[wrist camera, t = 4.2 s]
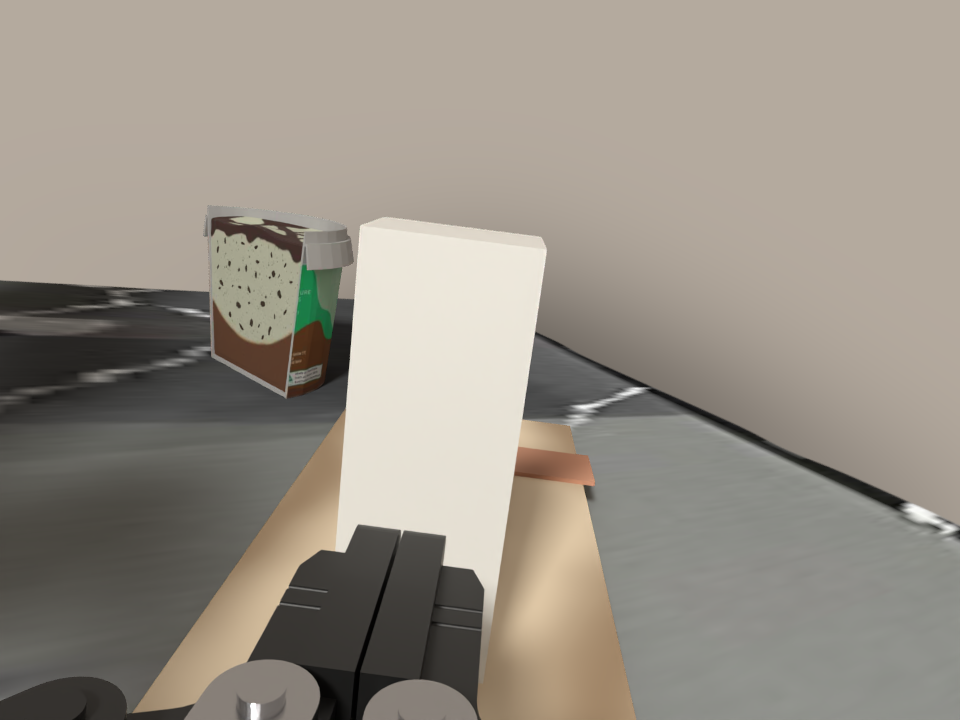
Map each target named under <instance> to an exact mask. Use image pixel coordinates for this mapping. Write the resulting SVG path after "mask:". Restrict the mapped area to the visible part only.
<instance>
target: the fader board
mask: <svg viewBox="0 0 960 720" xmlns="http://www.w3.org/2000/svg"><path fill="white" fill-rule="evenodd" d="M345 417H346V409H345V410H344V412H343V413H342V415H341V416H340V418H339V419H338V420H337V422H336V423H335V425H334V426H333V428H332V429H331V430H330V432H329V433H328V435H327V436H326V437H325V439H324V440H323V442H322V443H321V445H320V446H319V447H318V449H317V450H316V452H315V453H314V455H313V456H312V457H311V459H310V460H309V462H308V463H307V465H306V466H305V467H304V469H303V470H302V472H301V473H300V475H299V476H298V477H297V479H296V480H295V482H294V483H293V485H292V486H291V487H290V489H289V490H288V492H287V493H286V495H285V496H284V497H283V499H282V500H281V502H280V503H279V504H278V506H277V507H276V509H275V510H274V512H273V513H272V514H271V516H270V517H269V519H268V520H267V522H266V523H265V524H264V526H263V527H262V529H261V530H260V532H259V533H258V534H257V536H256V537H255V539H254V540H253V542H252V543H251V544H250V546H249V547H248V549H247V550H246V552H245V553H244V554H243V556H242V557H241V559H240V560H239V562H238V563H237V564H236V566H235V567H234V569H233V570H232V571H231V573H230V574H229V576H228V577H227V579H226V580H225V581H224V583H223V584H222V586H221V587H220V589H219V590H218V591H217V593H216V594H215V596H214V597H213V599H212V600H211V601H210V603H209V604H208V606H207V607H206V609H205V610H204V611H203V613H202V614H201V616H200V617H199V619H198V620H197V621H196V623H195V624H194V626H193V627H192V628H191V630H190V631H189V633H188V634H187V636H186V637H185V638H184V640H183V641H182V643H181V644H180V646H179V647H178V648H177V650H176V651H175V653H174V654H173V656H172V657H171V658H170V660H169V661H168V663H167V664H166V666H165V667H164V668H163V670H162V671H161V673H160V674H159V676H158V677H157V678H156V680H155V681H154V683H153V684H152V686H151V687H150V688H149V690H148V691H147V693H146V694H145V695H144V697H143V698H142V700H141V701H140V703H139V704H138V705H137V707H136V708H135V710H134V711H133V713H138V712H147V711H155V710H164V709H172V708H178V707H183V706H187V705H191V704H195V703H196V702H197V700H198V699H199V698H200V696H201V695H202V693H203V692H204V691H205V689H206V688H207V687H208V685H209V684H210V683H211V682H212V681H213V680H214V679H215V678H216V677H218V676H219V675H220V674H222V673H223V672H225V671H226V670H228V669H230V668H233V667H235V666H237V665H240V664H243V663H246V662H247V661H248V659H249V657H250V655H251V653H252V651H253V650H254V648H255V646H256V644H257V642H258V640H259V639H260V637H261V635H262V633H263V631H264V629H265V628H266V626H267V624H268V622H269V620H270V618H271V617H272V615H273V613H274V611H275V609H276V607H277V606H278V605H279V604H280V600H281V598H282V596H283V595H284V593H285V591H286V589H288V587H289V584H290V582H291V580H292V578H293V576H294V574H295V573H296V571H297V569H298V567H299V565H300V564H302V563H303V562H305V561H306V560H307V559H309V558H310V557H312V556H313V555H314V554H316V553H317V552H319V551H320V550H328V551H335V547H336V534H337V521H338V508H339V495H340V482H341V469H342V456H343V443H344V430H345ZM583 485H589V486H594V485H595V480H594V476H593V473H592V469H591V465H590V461H589V458H588V456H586V455H578V454H576V451H575V446H574V442H573V438H572V433H571V429H570V426H566V425H559V424H551V423H543V422H536V421H528V420H522V422H521V429H520V436H519V443H518V449H517V456H516V463H515V470H514V477H513V483H512V490H511V497H510V504H509V511H508V517H507V524H506V531H505V538H504V544H503V551H502V558H501V565H500V572H499V578H498V585H497V592H496V599H495V606H494V612H493V619H492V626H491V633H490V639H489V646H488V653H487V660H486V667H485V673H484V680H483V684H482V683H478V693H477V708H478V712H479V716H480V718H481V720H636V717H635V712H634V708H633V703H632V699H631V694H630V690H629V686H628V681H627V677H626V672H625V668H624V663H623V659H622V655H621V650H620V646H619V641H618V637H617V632H616V628H615V624H614V619H613V615H612V610H611V606H610V601H609V597H608V593H607V588H606V584H605V579H604V575H603V570H602V566H601V562H600V557H599V553H598V548H597V544H596V539H595V535H594V531H593V526H592V522H591V517H590V513H589V508H588V504H587V500H586V495H585V491H584V486H583Z"/></svg>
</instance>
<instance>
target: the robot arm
mask: <svg viewBox="0 0 960 720" xmlns="http://www.w3.org/2000/svg"><path fill="white" fill-rule="evenodd" d="M445 544H446V536H445V535H438V534H430V533H422V532H415V531H407V530H404V531H403V534H402V537H401V530H399V529H391V528H384V527H376V526H368V525H361V524H358V525H357V527H356V529H355V531H354V534H353V536H352V538H351V540H350V543H349V545H348V547H347V549H346V552H345V553H343V552H336V551H328V550H320V551H319V552H317V553H316V554H314V555H313V556H312V557H310V558H309V559H307V560H306V561H305V562H303V563H302V564H300V565H299V567H298V569H297V571H296V573H295V574H294V576H293V578H292V580H291V582H290V584H289V587H288V589H286V591H285V593H284V595H283V596H282V598H281V600H280V604H279V605H278V606H277V607H276V609H275V611H274V613H273V615H272V617H271V618H270V620H269V622H268V624H267V626H266V628H265V629H264V631H263V633H262V635H261V637H260V639H259V640H258V642H257V644H256V646H255V648H254V650H253V651H252V653H251V655H250V657H249V659H248V661H247V662H246V663H243V664H240V665H237V666H235V667H233V668H230V669H228V670H226V671H225V672H223V673H222V674H220V675H219V676H218V677H216V678H215V679H214V680H213V681H212V682H211V683H210V684H209V685H208V687H207V688H206V689H205V691H204V692H203V693H202V695H201V696H200V698H199V699H198V700H197V702H196V703H195V704H191V705H187V706H183V707H178V708H172V709H164V710H155V711H147V712H138V713H129V714H127V703H126V699H125V696H124V694H123V693H122V691H121V690H120V689H119V688H118V687H117V686H115V685H114V684H112V683H110V682H108V681H105V680H102V679H98V678H93V677H69V678H63V679H57V680H54V681H50V682H46V683H43V684H41V685H38V686H35V687H33V688H30V689H28V690H25V691H23V692H21V693H18V694H16V695H13V696H11V697H9V698H6V699H4V700H2V701H0V720H481V718H480V716H479V712H478V708H477V693H478V678H479V664H480V649H481V634H482V632H481V631H482V619H483V605H484V590H485V589H484V587H483V586H482V584H481V582H480V581H479V579H478V577H477V575H476V574H475V572H474V570H472V569H465V568H457V567H450V566H443V561H444V553H445Z"/></svg>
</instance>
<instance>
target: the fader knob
mask: <svg viewBox="0 0 960 720" xmlns="http://www.w3.org/2000/svg"><path fill="white" fill-rule="evenodd" d="M546 252H547V249H546V246H545V244H544V242H543V240H542V238H541V237H538V236H531V235H523V234H515V233H507V232H499V231H491V230H484V229H476V228H468V227H460V226H453V225H445V224H437V223H430V222H421V221H414V220H406V219H398V218H390V217H383V218H380V219H377V220H375V221H372V222H369V223H367V224H363V225H361V226H360V235H359V249H358V261H357V275H356V287H355V300H354V313H353V326H352V339H351V352H350V365H349V378H348V391H347V404H346V417H345V430H344V443H343V456H342V469H341V482H340V495H339V508H338V521H337V534H336V547H335V551H336V552H343V553H345V552H346V549H347V547H348V545H349V543H350V540H351V538H352V536H353V534H354V531H355V529H356V527H357V525H358V524H361V525H368V526H376V527H384V528H391V529H399V530H401V537H402V534H403V531H404V530H407V531H415V532H422V533H430V534H438V535H445V536H446V544H445V553H444V561H443V566H450V567H457V568H465V569H472V570H474V572H475V574H476V575H477V577H478V579H479V581H480V582H481V584H482V586H483V587H484V589H485V590H484V605H483V619H482V631H481V632H482V634H481V649H480V664H479V678H478V683H482V684H483V680H484V673H485V667H486V660H487V653H488V646H489V639H490V633H491V626H492V619H493V612H494V606H495V599H496V592H497V585H498V578H499V572H500V565H501V558H502V551H503V544H504V538H505V531H506V524H507V517H508V511H509V504H510V497H511V490H512V483H513V477H514V470H515V463H516V456H517V449H518V443H519V436H520V429H521V422H522V416H523V409H524V402H525V395H526V388H527V382H528V375H529V368H530V361H531V355H532V348H533V341H534V334H535V327H536V320H537V314H538V307H539V300H540V293H541V287H542V280H543V273H544V266H545V260H546Z"/></svg>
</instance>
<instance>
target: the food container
mask: <svg viewBox="0 0 960 720" xmlns="http://www.w3.org/2000/svg"><path fill="white" fill-rule="evenodd" d="M203 236H208V253H209V291H210V327H211V357H213V358H214V359H216V360H218V361H220V362H222V363H223V364H225V365H227V366H229V367H231V368H232V369H234V370H236V371H238V372H240V373H241V374H243V375H245V376H247V377H249V378H250V379H252V380H254V381H256V382H258V383H260V384H261V385H263V386H265V387H267V388H269V389H270V390H272V391H274V392H276V393H278V394H279V395H281V396H283V397H285V398H291V397H296V396H301V395H304V394H306V393H309V392H311V391H314V390H316V389H318V388H319V387H320V386H321V385H322V384H323V383H324V382H325V375H326V369H327V362H328V356H329V350H330V343H331V337H332V330H333V324H334V317H335V311H336V304H337V298H338V291H339V285H340V278H341V272H342V267H345V266H348V265H350V264H352V263H353V262H354V259H353V251H352V244H351V238H350V237H349V236H348V235H347V227H346V226H345V225H344V224H341V223H338V222H335V221H331V220H327V219H322V218H317V217H312V216H305V215H300V214H292V213H285V212H278V211H269V210H261V209H251V208H240V207H225V206H209V205H208V210H207V215H206V216H205V225H204V233H203Z"/></svg>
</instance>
